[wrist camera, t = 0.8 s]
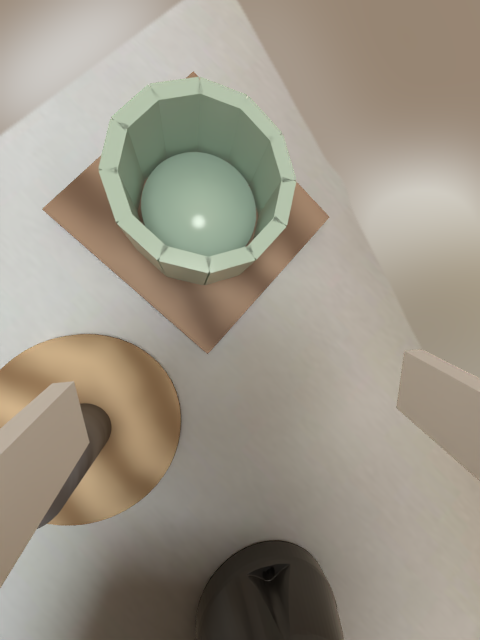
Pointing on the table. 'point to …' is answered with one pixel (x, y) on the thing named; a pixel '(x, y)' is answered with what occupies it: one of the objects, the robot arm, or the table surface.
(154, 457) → the lid
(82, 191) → the serving board
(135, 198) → the bowl
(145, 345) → the table surface
